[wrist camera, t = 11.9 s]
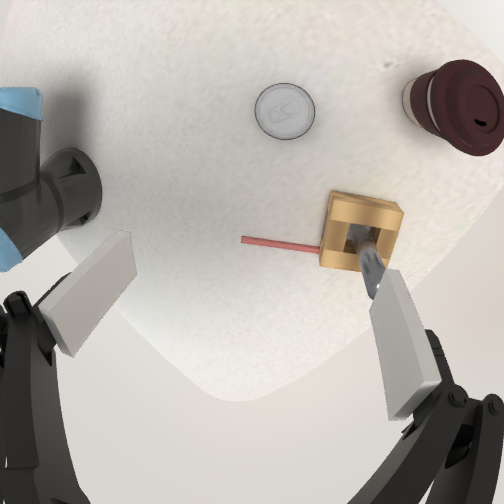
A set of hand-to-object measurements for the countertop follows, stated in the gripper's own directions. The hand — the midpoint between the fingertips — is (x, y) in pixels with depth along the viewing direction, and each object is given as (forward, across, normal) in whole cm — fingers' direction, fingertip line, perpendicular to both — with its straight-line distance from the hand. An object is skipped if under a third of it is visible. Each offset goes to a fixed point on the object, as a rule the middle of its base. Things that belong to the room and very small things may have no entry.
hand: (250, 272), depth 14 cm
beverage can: (+27, 0, +7) cm, 28 cm away
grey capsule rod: (+27, +12, -8) cm, 30 cm away
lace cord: (+27, +1, -12) cm, 29 cm away
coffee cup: (+27, +19, +12) cm, 35 cm away
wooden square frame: (+27, +12, -8) cm, 30 cm away
